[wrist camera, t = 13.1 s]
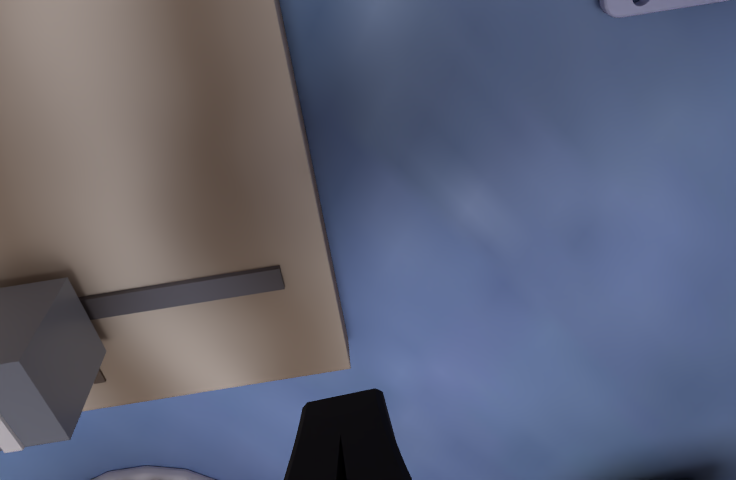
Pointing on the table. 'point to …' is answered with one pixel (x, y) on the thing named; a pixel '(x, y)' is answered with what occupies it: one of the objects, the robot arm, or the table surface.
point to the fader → (44, 363)
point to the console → (167, 191)
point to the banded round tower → (151, 474)
